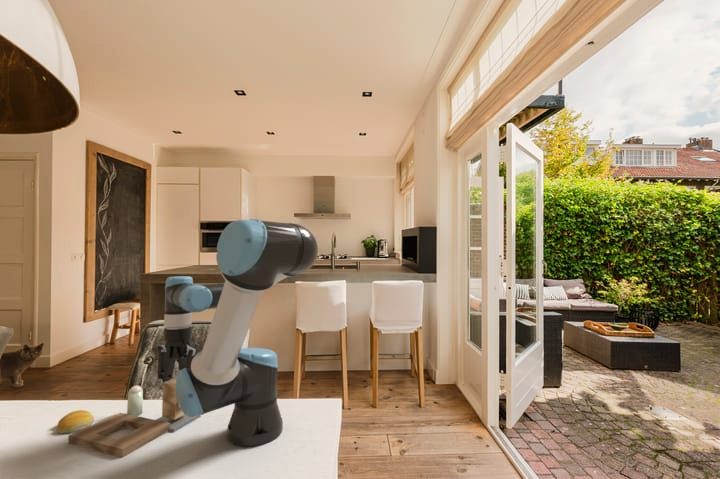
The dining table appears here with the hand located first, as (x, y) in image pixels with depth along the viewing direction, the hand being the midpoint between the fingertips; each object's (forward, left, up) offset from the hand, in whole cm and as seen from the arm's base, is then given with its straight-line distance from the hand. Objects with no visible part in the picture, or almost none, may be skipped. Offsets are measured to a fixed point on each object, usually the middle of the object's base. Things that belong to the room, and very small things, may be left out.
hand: (175, 403), depth 103 cm
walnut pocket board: (+7, +11, -5) cm, 15 cm away
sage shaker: (+16, 0, -5) cm, 17 cm away
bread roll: (+25, +12, -6) cm, 29 cm away
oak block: (0, 0, -3) cm, 3 cm away
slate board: (0, 0, -5) cm, 5 cm away
